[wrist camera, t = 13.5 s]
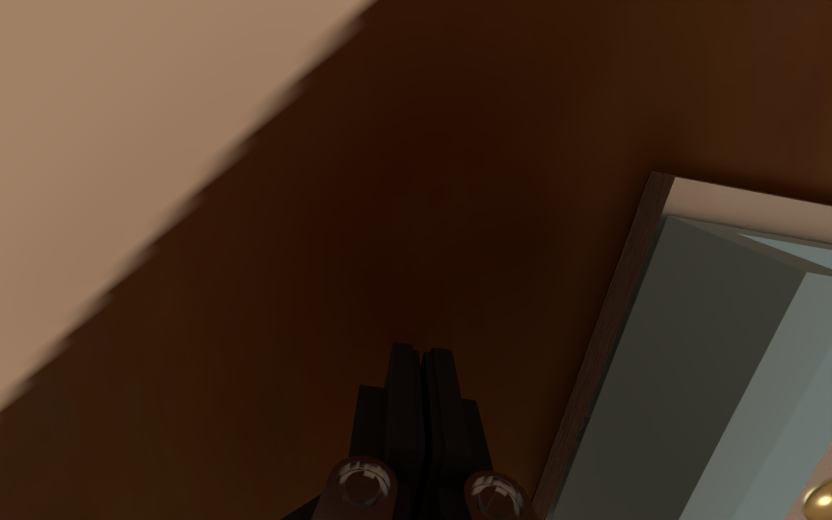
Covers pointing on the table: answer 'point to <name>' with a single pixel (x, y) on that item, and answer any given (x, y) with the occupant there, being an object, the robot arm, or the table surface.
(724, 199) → the base
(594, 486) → the cover
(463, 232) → the table surface
